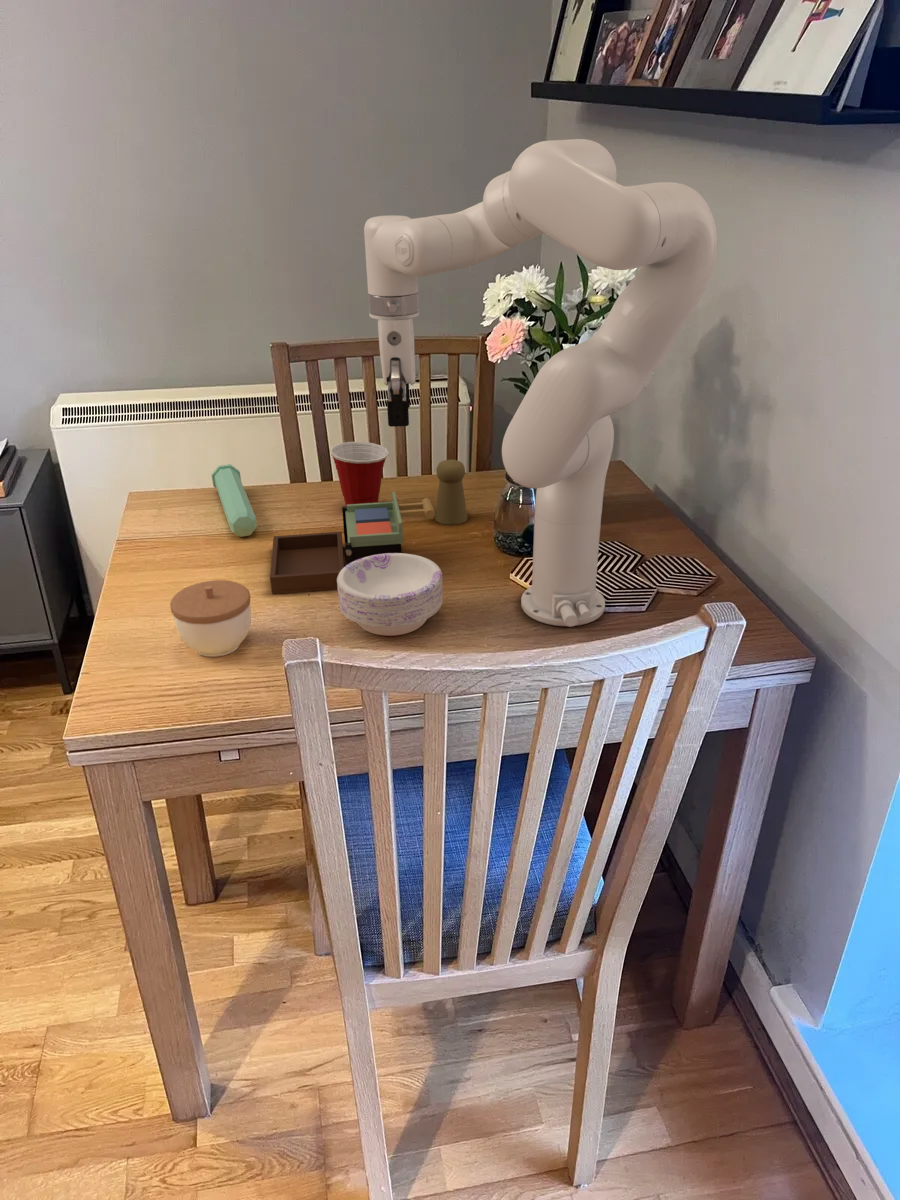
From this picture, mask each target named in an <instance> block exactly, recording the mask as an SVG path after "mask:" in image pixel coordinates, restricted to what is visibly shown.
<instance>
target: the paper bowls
mask: <svg viewBox="0 0 900 1200" xmlns="http://www.w3.org/2000/svg"><path fill="white" fill-rule="evenodd" d="M337 585H338V586H337V588H338V589H337V597H338V607H339V610H340V612H341V614H342V615H343V616H344V617H345V618H346V619H348V620H349V621H351V622H354V623H357V625H358V626H359V627H360V628H362V630H364V631H366V632H368V633H371V634H374V635H377V636H388V637H391V636H393V637H394V636H401V635H405V634H409V633H412V632H414V631H416V630H418V629H420V628H421V627H423V625H424V624H425V623H426V622H427V620H428V619H430V618H431V617H433V616H434V615H435V614H437V613H438V611H439V610H440V609H441V608H442V606H443V601H444V600H443V597H444V596H443V595H444V593H443V573H442V570H441V568H440V567H439V565H438V564H437V563H435V561H432V560H431V559H429V558H427V557H424V556H421V555H417V554H412V553H402V552H401V553H385V554H377V555H372V556H367V557H364V558H361V559H358V560H355V561H353V562H351V563H349V564H348V565H347V564H346V565H344V568H343V569H342V570H341V571H340V573H339V574H338V577H337Z"/></svg>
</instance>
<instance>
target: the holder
mask: <svg viewBox="0 0 900 1200" xmlns="http://www.w3.org/2000/svg"><path fill="white" fill-rule="evenodd" d="M272 540H273V541H272V549H271V550H272V551H271V561H270V562H271V563H270V571H269V572H270V573H269V581H270V589H271V595H281V594H295V593H296V594H297V593H309V592H320V591H333V590H334V591H335V590H338V588H337V586H338V585H337V577H338V574H339V573H340V571H341V570H342V569H343V568H344V567H345V556H344V544H343V533H342V531H331V532H315V533H301V534H287V535H274V536H273V539H272Z"/></svg>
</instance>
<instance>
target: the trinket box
mask: <svg viewBox="0 0 900 1200" xmlns="http://www.w3.org/2000/svg"><path fill="white" fill-rule="evenodd" d="M169 603H170V605H169V606H170V610H171V614H172V617H173V621H174V625H175V627H176V630H177V633H178V635H179V637H180V639H181V640H182V641H183V643H184V644H185V645H187V646H188V647H189V648H190V649H192V650H194V651H195V652H197V653H198V654H199V655H201V656H203V657H208V658H218V657H223V656H226V655H230V654H232V653H234V652H235V651H236V650H237V649H239V647H240V645H241V643H243V642H244V640H245V639H246V637H247V636H248V634H249V631H250V628H251V623H252V607H251V593H250V590H249V589H248V588H247V587H246V586H245V585H243V584H241V583H239V582H236V581H231V580H224V579H223V580H220V579H217V580H216V579H215V580H207V581H202V582H198V583H195V584H191V585H189V586H186V587H184V588H183V589H180V590H179V591H178V592H176V594H174V595H173V596H172V598H171V600H170V602H169Z"/></svg>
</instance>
